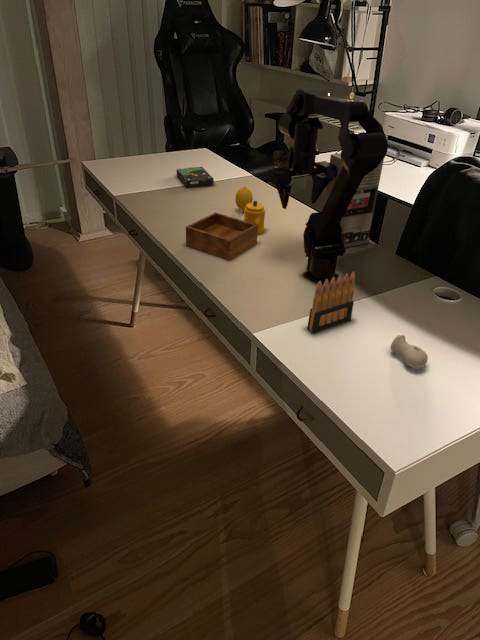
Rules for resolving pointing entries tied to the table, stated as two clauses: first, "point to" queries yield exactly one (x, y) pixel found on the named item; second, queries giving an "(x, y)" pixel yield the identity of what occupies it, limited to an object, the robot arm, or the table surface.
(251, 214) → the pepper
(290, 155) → the robot arm
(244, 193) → the lemon
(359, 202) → the labelled white carton
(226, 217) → the wooden tray
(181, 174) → the disk drive
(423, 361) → the pale two-lobed sculpture
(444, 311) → the table surface
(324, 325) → the ammunition clip
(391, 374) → the table surface
